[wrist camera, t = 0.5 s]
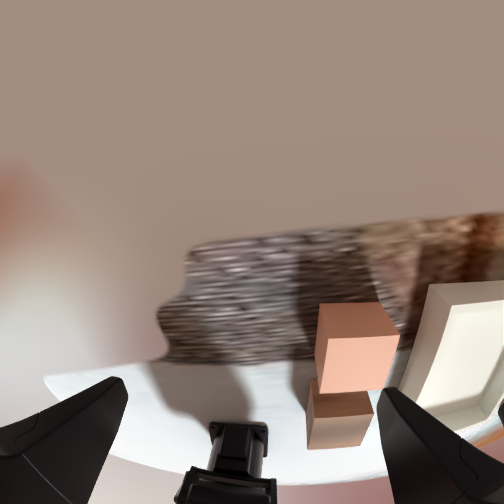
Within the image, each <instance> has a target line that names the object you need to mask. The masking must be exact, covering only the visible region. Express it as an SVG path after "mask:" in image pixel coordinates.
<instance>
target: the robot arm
mask: <svg viewBox="0 0 504 504" xmlns="http://www.w3.org/2000/svg"><path fill="white" fill-rule="evenodd" d="M127 401H128V393H127V390H126V387H125V385H124V382H123V380H122V379H121V378H119V377H114V376H111V377H109V378H107V379H105V380H103V381H101V382H99V383H97V384H95V385H93V386H91V387H89V388H87V389H86V390H84V391H82V392H80V393H78V394H76V395H74V396H72V397H70V398H68V399H66V400H64V401H62V402H60V403H57V404H56V405H53V406H51V407H49V408H47V409H45V410H43V411H41V412H40V413H37V414H34V415H32V416H30V417H28V418H26V419H23V420H21V421H18V422H15V423H13V424H10V425H7V426H4V427H1V428H0V504H87V503H88V501H89V498H90V496H91V493H92V491H93V488H94V486H95V484H96V481H97V479H98V476H99V474H100V471H101V469H102V466H103V464H104V462H105V460H106V457H107V455H108V453H109V450H110V448H111V446H112V444H113V441H114V439H115V437H116V434H117V432H118V429H119V426H120V423H121V420H122V417H123V414H124V411H125V407H126V404H127ZM377 416H378V422H379V430H380V437H381V445H382V450H383V454H384V458H385V462H386V466H387V470H388V475H389V479H390V483H391V488H392V493H393V497H394V502H395V504H504V463H502V462H500V461H498V460H496V459H494V458H493V457H491V456H489V455H487V454H486V453H484V452H482V451H480V450H479V449H477V448H476V447H474V446H473V445H472V444H470V443H469V442H467V441H466V440H465V439H463V438H461V437H460V436H459V435H458V434H456V433H455V432H454V431H452V430H451V429H450V428H448V427H447V426H446V425H444V424H443V423H442V422H440V421H439V420H438V419H436V418H435V417H434V416H432V415H431V414H430V413H428V412H427V411H426V410H424V409H423V408H422V407H420V406H419V405H418V404H416V403H415V402H414V401H413V400H411V399H410V398H409V397H407V396H406V395H405V394H403V393H402V392H401V391H400V390H398V389H397V388H395V387H387V388H384V389H383V390H382V391H381V394H380V398H379V401H378V403H377ZM209 432H210V436H211V441H212V445H213V447H212V451H211V455H210V459H209V463H208V467H207V470H205V469H200V468H197V467H194V466H192V467H191V469H190V471H186V474H185V477H184V480H183V483H182V485H181V487H180V488H179V490H178V492H177V493H176V495H175V497H174V502H175V503H176V504H277V483H276V479H275V478H271V479H266V478H261V472H262V462H263V457H267V450H268V428H267V427H264V426H247V425H234V424H223V423H214V422H211V423H209Z"/></svg>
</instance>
